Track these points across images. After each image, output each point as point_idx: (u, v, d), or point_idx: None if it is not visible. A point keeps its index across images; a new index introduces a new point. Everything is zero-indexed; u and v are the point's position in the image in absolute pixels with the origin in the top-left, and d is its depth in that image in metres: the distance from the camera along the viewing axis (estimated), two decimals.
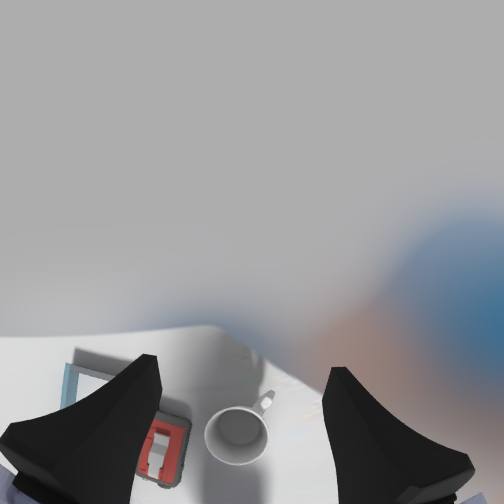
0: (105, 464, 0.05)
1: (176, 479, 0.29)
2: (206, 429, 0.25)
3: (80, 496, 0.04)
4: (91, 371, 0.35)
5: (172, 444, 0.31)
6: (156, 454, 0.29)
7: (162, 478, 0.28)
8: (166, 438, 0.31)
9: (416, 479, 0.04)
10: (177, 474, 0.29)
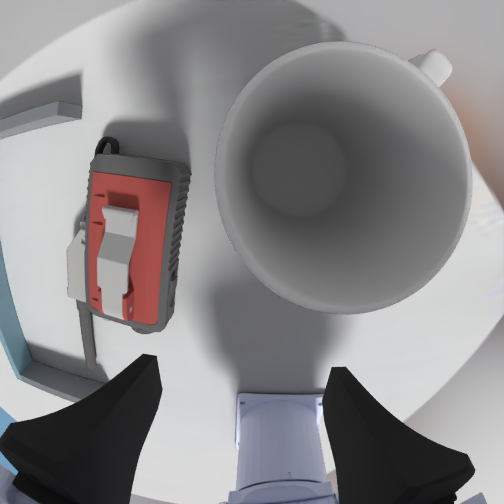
0: (105, 464, 0.05)
1: (163, 314, 0.18)
2: (225, 144, 0.06)
3: (80, 496, 0.04)
4: None
5: (146, 229, 0.16)
6: (111, 262, 0.15)
7: (134, 315, 0.18)
8: (128, 216, 0.15)
9: (416, 479, 0.04)
10: (163, 302, 0.18)
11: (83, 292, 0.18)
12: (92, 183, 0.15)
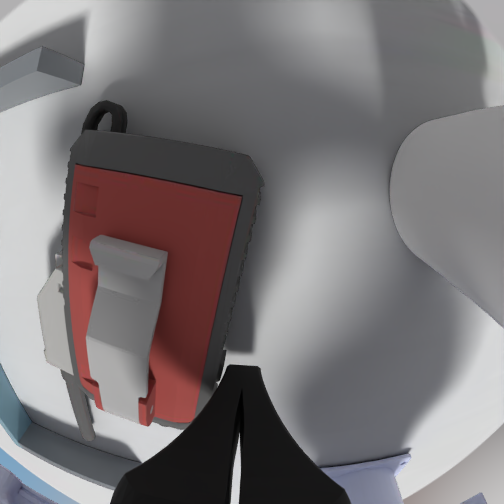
0: None
1: None
2: None
3: None
4: None
5: (183, 288, 0.08)
6: (114, 349, 0.08)
7: (156, 412, 0.10)
8: (148, 267, 0.07)
9: (255, 501, 0.04)
10: (206, 396, 0.10)
11: (69, 362, 0.10)
12: (72, 186, 0.08)
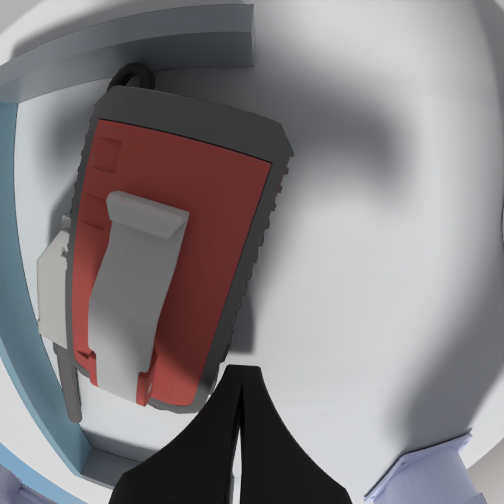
0: (227, 489, 0.05)
1: (204, 393, 0.10)
2: None
3: None
4: (40, 50, 0.05)
5: (200, 253, 0.08)
6: (119, 315, 0.07)
7: (154, 392, 0.10)
8: (169, 224, 0.07)
9: (255, 500, 0.04)
10: (209, 378, 0.10)
11: (63, 334, 0.10)
12: (93, 142, 0.07)
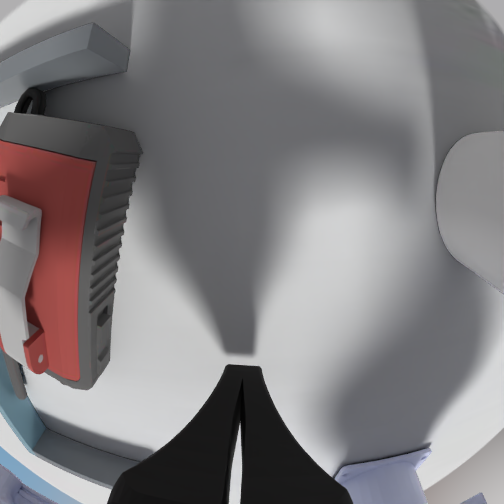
0: (226, 489, 0.05)
1: (87, 370, 0.10)
2: None
3: None
4: None
5: (53, 242, 0.08)
6: (4, 290, 0.07)
7: (49, 364, 0.09)
8: (21, 219, 0.07)
9: (256, 501, 0.04)
10: (86, 356, 0.10)
11: None
12: None
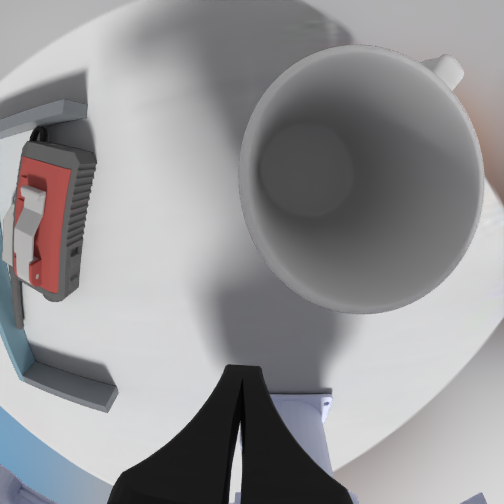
0: (226, 489, 0.05)
1: (62, 285, 0.18)
2: (249, 143, 0.06)
3: None
4: (1, 122, 0.13)
5: (51, 208, 0.16)
6: (23, 233, 0.15)
7: (41, 282, 0.17)
8: (36, 196, 0.14)
9: (257, 501, 0.04)
10: (62, 274, 0.17)
11: (12, 258, 0.18)
12: (21, 165, 0.15)
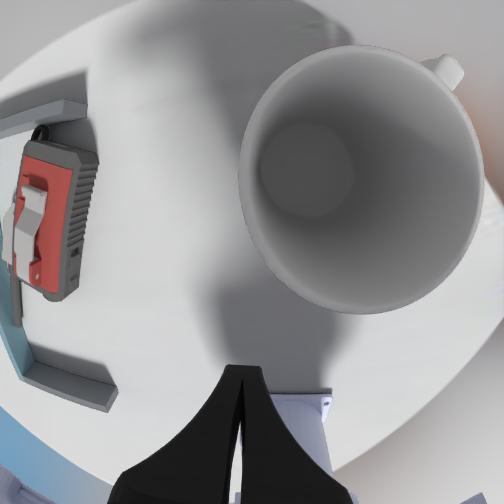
0: (226, 489, 0.05)
1: (62, 285, 0.18)
2: (249, 144, 0.06)
3: None
4: (1, 122, 0.13)
5: (52, 208, 0.16)
6: (23, 233, 0.15)
7: (41, 282, 0.17)
8: (37, 196, 0.14)
9: (257, 501, 0.04)
10: (63, 274, 0.17)
11: (11, 257, 0.18)
12: (22, 164, 0.15)
